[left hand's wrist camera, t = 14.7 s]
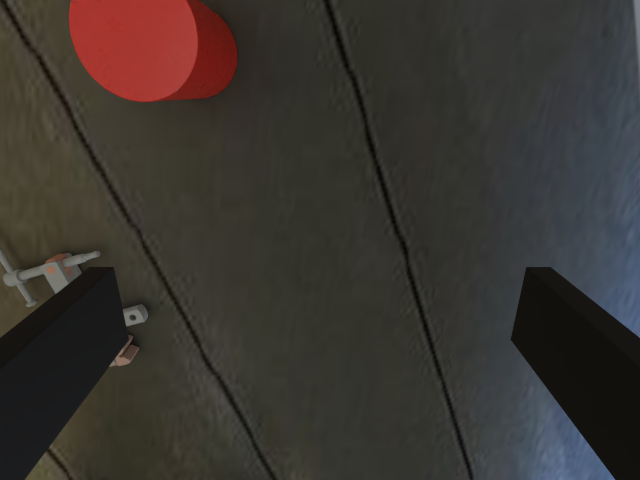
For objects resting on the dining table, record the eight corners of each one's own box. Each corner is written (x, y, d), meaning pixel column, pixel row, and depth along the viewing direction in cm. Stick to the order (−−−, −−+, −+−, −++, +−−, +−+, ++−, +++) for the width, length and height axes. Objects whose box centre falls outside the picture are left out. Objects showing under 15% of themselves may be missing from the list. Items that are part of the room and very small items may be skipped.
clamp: (159, 356, 36) (62, 381, 37) (167, 342, 38) (76, 366, 39) (78, 206, 31) (-31, 240, 32) (93, 199, 33) (-10, 231, 34)
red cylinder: (207, 115, 31) (157, 127, 21) (136, 60, 30) (46, 45, 20) (254, 46, 29) (222, 23, 20) (180, -17, 28) (106, -75, 18)
